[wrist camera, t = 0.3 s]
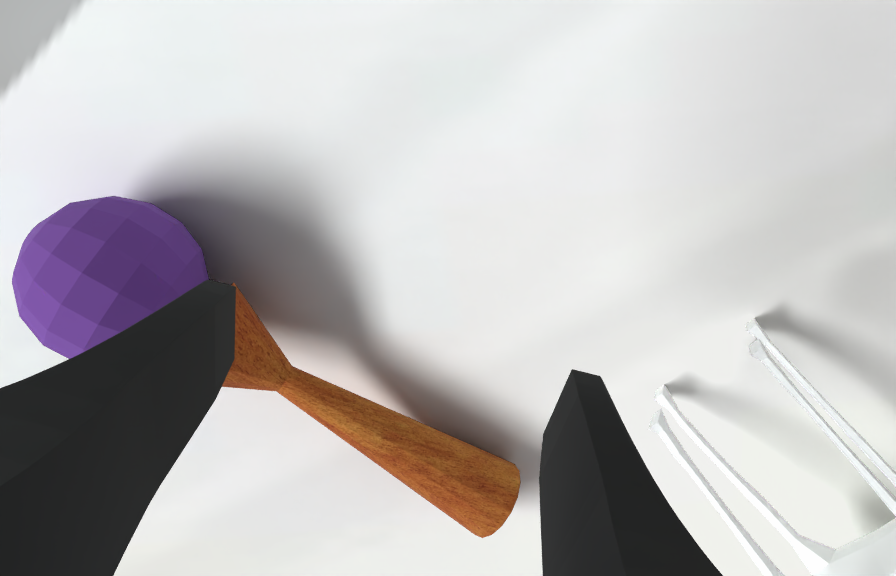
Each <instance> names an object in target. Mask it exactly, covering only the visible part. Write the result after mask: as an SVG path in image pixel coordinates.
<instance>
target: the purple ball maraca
mask: <svg viewBox="0 0 896 576" xmlns="http://www.w3.org/2000/svg"><path fill="white" fill-rule="evenodd" d="M206 280H209V277H208V273H207V269H206V265H205V261H204V257H203V252H202V249H201V248H200V246H199V245H198V244H197V242H196V241H195V240H194V238H193V237H192V236H191V234H190V233H189V232H188V230H187V229H186V228H185V226H184V225H183V223H182V222H180V221H179V220H177V219H176V218H174V217H172V216H171V215H169V214H167V213H166V212H164V211H163V210H161V209H159V208H158V207H156V206H155V205H153V204H151V203H147V202H142V201H137V200H132V199H127V198H121V197H116V196H111V197H104V198H98V199H91V200H85V201H79V202H73V203H69V204H68V205H66V206H65V207H63V208H62V209H60V210H59V211H57V212H56V213H54V214H52V215H51V216H49V217H48V218H46V219H45V220H43V221H42V222H40V223H39V224H37V225H36V226H35V227H34V228H33V229H32V231H31V232H30V233H29V234H28V236H27V237H26V239H25V240H24V242H23V244H22V247H21V250H20V253H19V256H18V260H17V263H16V266H15V269H14V272H13V278H12V285H13V289H14V294H15V298H16V303H17V307H18V312H19V316H20V317H21V319H22V320H23V321H24V322H25V324H26V325H27V326H28V327H29V329H30V330H31V331H32V332H33V333H34V335H35V336H36V337H37V338H38V340H39V341H40V342H41V343H42V345H44V346H46V347H48V348H49V349H51V350H53V351H55V352H57V353H59V354H61V355H63V356H65V357H67V358H68V359H71V358H73V357H75V356H77V355H79V354H81V353H83V352H85V351H87V350H88V349H90V348H92V347H94V346H96V345H98V344H100V343H102V342H103V341H105V340H107V339H109V338H111V337H113V336H115V335H116V334H118V333H120V332H122V331H123V330H125V329H127V328H129V327H130V326H132V325H134V324H135V323H137V322H139V321H140V320H142V319H144V318H145V317H147V316H149V315H150V314H152V313H154V312H155V311H157V310H159V309H160V308H162V307H163V306H165V305H167V304H168V303H170V302H172V301H173V300H175V299H176V298H178V297H179V296H181V295H183V294H184V293H186V292H187V291H189V290H191V289H192V288H194V287H196V286H197V285H199V284H201V283H202V282H204V281H206ZM231 285H232V286H236V284H235V283H234V282H233V283H232V284H231ZM222 387H233V388H245V389H256V390H268V391H277V392H278V393H279V394H281V395H282V396H284V397H285V398H286V399H288V400H289V401H291V402H292V403H293V404H295V405H296V406H297V407H299V408H300V409H302V410H303V411H304V412H306V413H307V414H309V415H310V416H311V417H313V418H314V419H315V420H317V421H318V422H320V423H321V424H322V425H324V426H325V427H327V428H328V429H329V430H331V431H332V432H333V433H335V434H336V435H338V436H339V437H340V438H342V439H343V440H345V441H346V442H347V443H349V444H350V445H351V446H353V447H354V448H356V449H357V450H358V451H360V452H361V453H363V454H364V455H365V456H367V457H368V458H369V459H371V460H372V461H374V462H375V463H376V464H378V465H379V466H381V467H382V468H383V469H385V470H386V471H387V472H389V473H390V474H392V475H393V476H394V477H396V478H397V479H399V480H400V481H401V482H403V483H404V484H405V485H407V486H408V487H410V488H411V489H412V490H414V491H415V492H417V493H418V494H419V495H421V496H422V497H423V498H425V499H426V500H428V501H429V502H430V503H432V504H433V505H435V506H436V507H437V508H439V509H440V510H441V511H443V512H444V513H446V514H447V515H448V516H450V517H451V518H453V519H454V520H455V521H457V522H458V523H459V524H461V525H462V526H464V527H465V528H466V529H468V530H469V531H471V532H472V533H473V534H475V535H477V536H479V537H482V538H483V537H486V536H489V535H492V534H493V533H494V532H496V531H497V530H498V529H499V528H500V527H501V526H502V525H503V524H504V522H505V521H506V519H507V518H508V516H509V515H510V514H511V512H512V510H513V507H514V505H515V502H516V500H517V498H518V493H519V488H520V483H521V482H520V473H519V470H518V468H517V467H516V466H515V464H513V463H511V462H509V461H507V460H504V459H502V458H500V457H497V456H495V455H493V454H491V453H488V452H486V451H484V450H482V449H479V448H477V447H475V446H472V445H470V444H468V443H466V442H463V441H461V440H459V439H456V438H454V437H452V436H450V435H447V434H445V433H443V432H441V431H438V430H436V429H434V428H431V427H429V426H427V425H425V424H422V423H420V422H418V421H416V420H413V419H411V418H409V417H406V416H404V415H402V414H400V413H397V412H395V411H393V410H390V409H388V408H386V407H384V406H381V405H379V404H377V403H375V402H372V401H370V400H368V399H365V398H363V397H361V396H359V395H356V394H354V393H352V392H350V391H347V390H345V389H343V388H340V387H338V386H336V385H334V384H331V383H329V382H327V381H324V380H322V379H320V378H318V377H315V376H313V375H311V374H309V373H306V372H304V371H302V370H299V369H297V368H295V367H293V366H292V365H291V364H290V362H289V361H288V360H287V358H286V357H285V355H284V354H283V352H282V351H281V349H280V348H279V347H278V345H277V344H276V342H275V341H274V339H273V338H272V336H271V335H270V334H269V332H268V331H267V329H266V328H265V326H264V325H263V323H262V322H261V321H260V319H259V318H258V316H257V315H256V313H255V312H254V310H253V309H252V308H251V306H250V305H249V303H248V302H247V300H246V299H245V297H244V296H243V295H242V293H241V292H240V290H239V289H238V287H237V286H236V310H235V359H234V361H233V363H232V365H231V368H230V370H229V372H228V374H227V376H226V379H225V381H224V383H223V385H222Z"/></svg>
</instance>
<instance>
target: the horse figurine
mask: <svg viewBox="0 0 896 576" xmlns="http://www.w3.org/2000/svg"><path fill="white" fill-rule="evenodd" d="M745 326H746V329H747V332H749V333H750V334H751V335H753V336H754V337H755V338H757V340H756V341H754V342H753V343H751V344H750V345H749V349H750V353H751V356H753V357H755V358H756V359H758V360H760V361H762V362H763V364H764V365H765V366H766V367H767V368H768V369H769V371H770V372H771V373H772V374H773V375H774V377H775V378H776V379H777V380H778V381H779V383H780V384H781V385H782V386H783V387H784V388H785V389H786V390H787V391H788V392H789V393H790V394H791V395H792V396H793V397H794V398H795V399H796V400H797V401H798V402H799V404H800V405H801V406H802V407H803V408H804V409H805V410H806V412H807V413H808V414H809V415H810V416H811V417H812V418H813V420H814V421H815V422H816V423H817V424H818V425H819V426H820V428H821V429H822V430H823V431H824V432H825V433H826V434H827V435H828V437H829V438H830V439H831V440H832V441H833V442H834V443H835V445H836V446H837V447H838V448H839V449H840V450H841V451H842V453H843V454H844V455H845V456H846V457H847V459H848V460H849V461H850V462H851V463H852V465H853V466H854V467H855V468H856V469H857V471H858V472H859V473H860V474H861V475H862V477H863V478H864V479H865V480H866V481H867V483H868V484H869V485H870V486H871V487H872V489H873V490H874V491H875V492H876V493H877V495H878V496H879V497H880V498H881V499H882V501H883V502H884V503H885V504H886V505H887V507H888V508H889V509H890V510H891V511H892V513H893V514H894V515H895V516H896V498H895V496H894V495H893V494H892V493H891V492H890V491H889V490H888V489H887V488H886V487H885V486H884V485H883V484H882V483H881V481H880V480H879V479H878V478H877V477H876V476H875V475H874V474H873V473H872V472H871V471H870V470H869V469H868V468H867V466H866V465H865V464H864V463H863V462H862V461H861V460H860V459H859V458H858V457H857V456H856V455H855V454H854V453H853V451H852V450H851V449H850V448H849V447H848V446H847V445H846V444H845V443H844V442H843V440H842V439H841V438H840V437H839V436H838V435H837V434H836V432H835V431H834V430H833V429H832V428H831V427H830V426H829V425H828V423H827V422H826V421H825V420H824V419H823V418H822V417H821V416H820V414H819V413H818V412H817V411H816V410H815V409H814V408H813V406H812V405H811V404H810V403H809V402H808V401H807V400H806V399H805V397H804V396H803V395H802V394H801V393H800V392H799V391H798V389H797V388H796V387H795V386H794V384H793V383H792V382H791V381H790V379H789V378H788V377H787V376H786V375H785V373H784V372H783V371H782V370H781V369H780V367H779V366H778V365H777V364H776V363H775V362H774V360H773V359H772V358H771V357H770V355H769V353H768V352H767V350H766V349H765V347H764V345H763V344H765V345H766V347H767V348H768V349H769V350H770V351H771V353H772V354H773V355H774V356H775V357H776V359H777V360H778V361H779V362H780V363H781V364H782V365H783V366H784V367H785V368H786V369H787V370H788V371H789V372H790V374H791V375H792V376H793V377H794V378H795V379H796V380H797V381H798V382H799V383H800V384H801V385H802V386H803V387H804V389H805V390H806V391H807V392H808V393H809V394H810V395H811V396H812V397H813V398H814V399H815V400H816V401H817V402H818V403H819V404H820V406H821V407H822V408H823V409H824V410H825V411H826V412H827V413H828V414H829V415H830V416H831V418H832V419H833V420H834V421H835V422H836V423H837V424H838V426H839V427H840V428H841V429H842V430H843V431H844V432H845V433H846V435H847V436H848V437H849V438H850V439H851V440H852V441H853V442H854V443H855V444H856V445H857V446H858V447H859V448H860V449H861V450H862V451H863V452H864V453H865V454H866V456H867V457H868V458H869V459H870V460H871V461H872V462H873V463H874V464H875V465H876V466H877V467H878V468H879V469H880V470H881V471H882V473H883V474H884V475H885V476H886V477H887V478H888V479H889V480H890V481H891V482H892V483H893V484H894V486H895V488H896V472H895V471H894V470H893V469H892V468H891V467H890V466H889V465H888V464H887V463H886V461H885V460H884V459H883V458H882V457H881V456H880V455H879V454H878V453H877V452H876V451H875V450H874V449H873V448H872V447H871V446H870V445H869V443H868V442H867V441H866V440H865V439H864V438H863V437H862V436H861V435H860V434H859V433H858V432H857V431H856V430H855V429H854V428H853V427H852V426H851V425H850V424H849V423H848V422H847V421H846V420H845V419H844V418H843V417H842V416H841V415H840V414H839V413H838V412H837V411H836V410H835V409H834V408H833V407H832V406H831V405H830V404H829V403H828V402H827V401H826V400H825V399H824V398H823V397H822V395H821V394H820V393H819V392H818V391H817V390H816V389H815V388H814V387H813V386H812V385H811V384H810V383H809V382H808V381H807V380H806V379H805V377H804V376H803V375H802V374H801V373H800V372H799V371H798V370H797V369H796V368H795V367H794V366H793V365H792V363H791V362H790V361H789V360H788V359H787V358H786V357H785V356H784V355H783V354H782V353H781V352H780V351H779V350H778V349H777V348H776V347H775V346H774V345H773V344H772V343H771V341H770V340H769V338H768V337H767V335H766V334H765V332H764V331H763V329H762V328H761V326H760V325H759V324H758V322H757V321H756V320H755V318H753V319H752V320H751V321H749V322H748V323H747V324H745ZM762 343H763V344H762ZM654 400H655V401H657V402H658V403H659V404H661V405H662V406H663V407H664V408H666V409H667V410H668V411H670V412H671V414H672V415H673V416H674V418H675V419H676V421H677V422H678V424H679V425H680V426H681V427H682V428H683V429H684V430H685V432H686V433H687V434H688V435H689V436H690V437H691V438H692V439H693V441H694V442H695V443H696V444H697V445H698V446H699V447H700V448H701V449H702V450H703V451H704V452H705V454H706V455H707V456H708V457H709V458H710V459H711V460H712V461H713V462H714V463H715V464H716V465H717V466H718V467H719V468H720V469H721V470H722V471H723V472H724V474H725V475H726V476H727V477H728V478H729V479H730V480H731V481H732V482H733V483H734V484H735V486H736V487H737V488H738V489H739V490H740V491H741V492H742V493H743V494H744V495H745V496H746V498H747V499H748V500H749V501H750V502H751V503H752V504H753V505H754V506H755V507H756V508H757V509H758V510H759V511H760V512H761V513H762V514H763V515H764V516H765V517H766V518H767V519H768V520H769V521H770V522H771V523H772V524H773V526H774V527H775V528H776V529H777V530H778V531H779V532H780V533H781V534H782V535H783V536H784V537H785V538H786V539H787V540H788V541H789V542H790V544H791V545H792V547H793V548H794V550H795V551H796V552H797V554H798V555H799V557H800V558H801V560H802V561H803V563H804V564H805V566H806V567H807V568H808V570H809V571H810V573H811V575H812V576H896V518H894V519H893V520H891V521H890V522H888V523H886V524H885V525H883V526H882V527H880V528H878V529H877V530H875V531H873V532H871V533H869V534H867V535H865V536H863V537H861V538H858V539H856V540H854V541H852V542H850V543H848V544H846V545H844V546H842V547H839V548H837V549H834V548H831V547H829V546H826V545H824V544H821V543H819V542H816V541H814V540H811V539H809V538H806V537H804V536H801V535H799V534H798V533H797V532H796V530H795V529H794V528H793V527H792V526H791V525H790V524H789V523H788V522H787V521H786V520H785V519H784V518H783V517H782V516H781V515H780V514H779V513H778V511H777V510H776V509H775V508H774V507H773V506H772V505H771V504H770V503H769V502H768V501H767V500H766V499H765V498H764V497H763V496H762V495H761V494H760V493H759V492H758V491H757V490H756V489H755V488H754V487H752V486H751V485H750V484H749V483H748V482H747V481H746V480H745V479H744V478H743V477H742V476H741V475H740V474H739V473H737V472H736V471H735V470H734V469H733V468H732V467H731V466H730V465H729V463H728V462H727V461H726V460H725V459H724V458H723V457H722V456H721V455H720V454H719V453H718V452H717V451H716V450H715V449H714V448H713V447H712V446H711V445H710V443H709V442H708V441H707V440H706V439H705V438H704V437H703V436H702V435H701V434H700V432H699V431H698V430H697V429H696V428H695V427H694V426H693V425H692V424H691V422H690V421H689V420H688V419H687V418H686V417H685V416H684V415H683V414H682V412H681V411H680V410H679V409H678V407H677V405H676V404H675V402H674V400H673V398H672V396H671V394H670V392H669V391H668V389H667V387H666V386H665V385H663V386H661V387H660V388H659V389H657V390H656V393H655V397H654ZM648 429H650V430H652V431H654V432H656V433H658V434H659V435H660V437H661V438H662V440H663V441H664V442H665V444H666V445H667V447H668V448H669V450H670V451H671V453H672V454H673V456H674V457H675V458H676V460H677V461H678V462H679V463H680V464H681V465H682V466H683V467H684V468H685V469H686V470H687V471H688V473H689V474H690V475H691V477H692V478H693V479H694V481H695V482H696V483H697V485H698V486H699V487H700V489H701V490H702V491H703V493H704V494H705V495H706V497H707V498H708V499H709V500H710V502H711V503H712V504H713V506H714V507H715V508H716V510H717V511H718V512H719V514H720V515H721V516H722V518H723V519H724V520H725V522H726V523H727V524H728V526H729V527H730V528H731V530H732V531H733V533H734V534H735V536H736V537H737V538H738V540H739V541H740V543H741V544H742V545H743V547H744V548H745V550H746V551H747V553H748V554H749V555H750V557H751V558H752V560H753V561H754V563H755V564H756V565H757V567H758V568H759V570H760V571H761V573H762V574H763V575H764V576H785V575H784V574H783V573H782V572H781V571H780V570H779V569H778V568H777V567H776V566H775V565H774V563H773V562H772V561H771V560H770V559H769V557H768V556H767V555H766V554H765V552H764V551H763V550H762V549H761V548H760V546H759V545H758V544H757V543H756V542H755V540H754V539H753V538H752V537H751V536H750V534H749V533H748V532H747V531H746V529H745V528H744V527H743V526H742V525H741V523H740V522H739V521H738V520H737V519H736V517H735V516H734V515H733V514H732V512H731V511H730V510H729V508H728V507H727V506H726V504H725V503H724V502H723V501H722V499H721V498H720V497H719V495H718V494H717V493H716V491H715V490H714V489H713V488H712V486H711V485H710V484H709V482H708V481H707V480H706V478H705V477H704V476H703V475H702V473H701V472H700V471H699V469H698V468H697V467H696V465H695V464H694V463H693V461H692V460H691V458H690V457H689V456H688V454H687V453H686V451H685V450H684V448H683V447H682V445H681V444H680V442H679V441H678V439H677V438H676V436H675V435H674V434H673V432H672V431H671V429H670V427H669V425H668V423H667V420H666V418H665V416H664V414H663V412H662V409H660V410H659V411H657V412H656V413H655V414H653V415H652V418H651V421H650V425H649V428H648Z"/></svg>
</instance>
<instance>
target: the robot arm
mask: <svg viewBox="0 0 896 576" xmlns="http://www.w3.org/2000/svg"><path fill="white" fill-rule="evenodd" d="M235 310H236V286H232V285H228V284H224V283H219V282H215V281H211V280H206V281H204V282H202V283H201V284H199V285H197V286H196V287H194V288H192V289H191V290H189V291H187V292H186V293H184V294H183V295H181V296H179V297H178V298H176V299H175V300H173V301H172V302H170V303H168V304H167V305H165V306H163V307H162V308H160V309H159V310H157V311H155V312H154V313H152V314H150V315H149V316H147V317H145V318H144V319H142V320H140V321H139V322H137V323H135V324H134V325H132V326H130V327H129V328H127V329H125V330H123V331H122V332H120V333H118V334H116V335H115V336H113V337H111V338H109V339H107V340H105V341H103V342H102V343H100V344H98V345H96V346H94V347H92V348H90V349H88V350H87V351H85V352H83V353H81V354H79V355H77V356H75V357H73V358H71V359H69V360H67V361H64V362H62V363H60V364H58V365H56V366H54V367H51V368H49V369H47V370H44V371H42V372H40V373H38V374H35V375H33V376H31V377H28V378H26V379H23V380H21V381H19V382H16V383H13V384H11V385H8V386H5V387H2V388H0V576H113V575H114V573H115V571H116V569H117V567H118V564H119V562H120V560H121V558H122V556H123V554H124V552H125V550H126V548H127V546H128V544H129V542H130V540H131V538H132V536H133V534H134V532H135V530H136V528H137V527H138V525H139V523H140V521H141V519H142V517H143V515H144V513H145V511H146V509H147V507H148V505H149V503H150V502H151V500H152V498H153V497H154V495H155V493H156V491H157V490H158V488H159V486H160V485H161V483H162V482H163V480H164V479H165V477H166V476H167V474H168V472H169V471H170V469H171V468H172V466H173V465H174V463H175V462H176V460H177V459H178V457H179V455H180V454H181V452H182V451H183V449H184V448H185V446H186V445H187V443H188V442H189V440H190V439H191V437H192V435H193V434H194V432H195V431H196V429H197V428H198V426H199V425H200V423H201V421H202V420H203V418H204V417H205V415H206V414H207V412H208V410H209V409H210V407H211V406H212V404H213V402H214V401H215V399H216V397H217V395H218V393H219V391H220V389H221V387H222V385H223V383H224V381H225V379H226V376H227V374H228V372H229V370H230V368H231V365H232V363H233V361H234V359H235ZM539 484H540V515H541V540H542V565H543V576H723V575H722V574H721V573H720V572H719V571H718V569H717V568H716V567H715V566H714V565H713V563H712V562H711V561H710V560H709V558H708V557H707V556H706V555H705V553H704V552H703V551H702V550H701V548H700V547H699V546H698V544H697V543H696V542H695V540H694V539H693V537H692V536H691V535H690V533H689V532H688V531H687V529H686V528H685V526H684V525H683V524H682V522H681V521H680V520H679V518H678V517H677V515H676V514H675V512H674V511H673V509H672V508H671V506H670V505H669V503H668V502H667V500H666V499H665V497H664V495H663V494H662V492H661V490H660V489H659V487H658V486H657V484H656V482H655V481H654V479H653V477H652V476H651V474H650V472H649V470H648V469H647V467H646V465H645V463H644V461H643V460H642V458H641V456H640V454H639V452H638V450H637V449H636V447H635V445H634V443H633V441H632V439H631V437H630V435H629V433H628V432H627V430H626V428H625V426H624V424H623V422H622V420H621V417H620V415H619V413H618V411H617V409H616V407H615V405H614V403H613V401H612V399H611V397H610V395H609V393H608V390H607V388H606V386H605V384H604V382H603V380H602V379H601V377H600V376H597V375H593V374H589V373H585V372H581V371H577V370H573V369H572V370H571V373H570V375H569V377H568V379H567V382H566V384H565V386H564V388H563V391H562V393H561V395H560V397H559V400H558V402H557V404H556V406H555V409H554V411H553V413H552V416H551V418H550V420H549V422H548V425H547V427H546V429H545V431H544V434H543V442H542V452H541V464H540V476H539Z"/></svg>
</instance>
